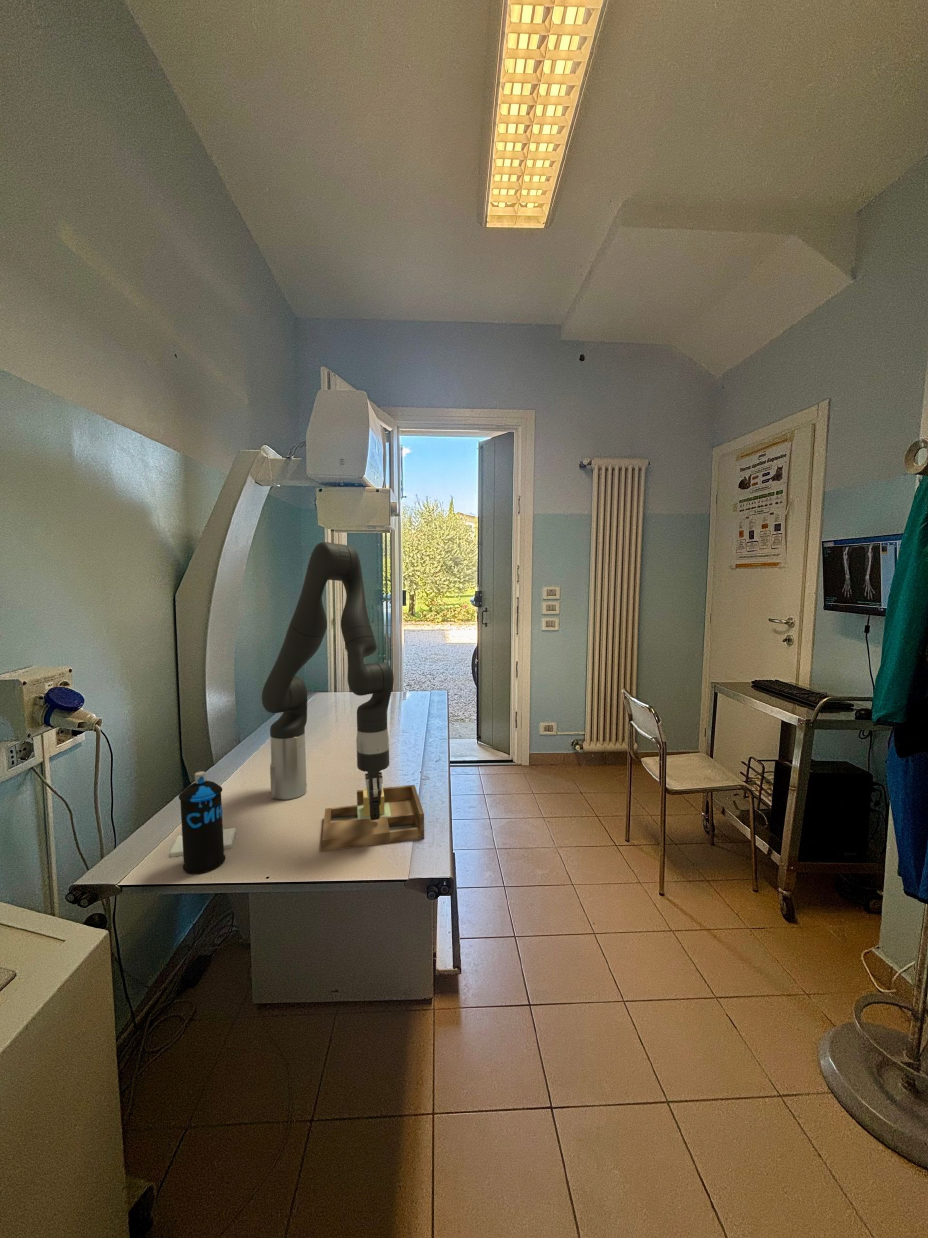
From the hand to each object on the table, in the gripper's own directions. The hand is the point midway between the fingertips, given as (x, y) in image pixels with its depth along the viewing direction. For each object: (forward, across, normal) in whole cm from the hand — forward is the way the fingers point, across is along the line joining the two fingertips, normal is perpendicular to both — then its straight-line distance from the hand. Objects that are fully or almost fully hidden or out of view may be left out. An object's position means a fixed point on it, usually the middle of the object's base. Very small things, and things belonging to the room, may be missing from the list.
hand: (374, 818), depth 120 cm
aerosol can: (+4, -4, +36) cm, 37 cm away
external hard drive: (+4, +5, +39) cm, 39 cm away
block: (+1, +7, 0) cm, 7 cm away
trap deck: (+4, +3, +1) cm, 5 cm away
